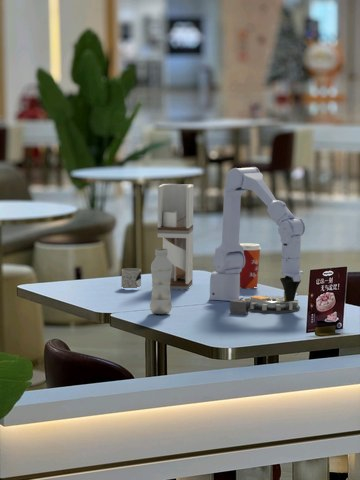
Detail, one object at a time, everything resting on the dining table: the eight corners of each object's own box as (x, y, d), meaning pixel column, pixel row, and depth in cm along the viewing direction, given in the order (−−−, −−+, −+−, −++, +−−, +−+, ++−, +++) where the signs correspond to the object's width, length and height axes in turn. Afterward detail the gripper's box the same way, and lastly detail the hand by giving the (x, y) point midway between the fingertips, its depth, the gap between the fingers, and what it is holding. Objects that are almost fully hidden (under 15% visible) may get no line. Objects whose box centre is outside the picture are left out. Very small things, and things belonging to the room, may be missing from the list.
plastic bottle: (149, 312, 379) (149, 247, 376) (171, 311, 379) (171, 247, 377) (150, 316, 372) (150, 250, 370) (172, 316, 373) (173, 250, 370)
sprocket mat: (232, 310, 382) (232, 308, 382) (248, 301, 399) (248, 298, 399) (292, 315, 376) (292, 312, 376) (305, 305, 393) (305, 302, 393)
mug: (140, 290, 416) (140, 271, 415) (120, 290, 416) (120, 271, 415) (141, 285, 426) (141, 266, 425) (122, 285, 426) (122, 266, 425)
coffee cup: (258, 290, 420) (259, 246, 418) (234, 289, 421) (235, 245, 419) (261, 286, 428) (262, 243, 426) (238, 285, 429) (239, 242, 427)
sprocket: (237, 308, 382) (238, 293, 381) (252, 299, 398) (252, 284, 397) (291, 312, 376) (291, 297, 376) (303, 302, 392) (304, 288, 392)
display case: (162, 283, 431) (163, 183, 426) (192, 284, 429) (193, 184, 425) (157, 288, 420) (158, 186, 415) (188, 290, 418) (189, 187, 414)
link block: (230, 314, 378) (230, 300, 377) (232, 312, 380) (233, 298, 380) (245, 315, 376) (246, 301, 375) (248, 313, 379) (248, 300, 378)
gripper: (310, 260, 374) (309, 304, 375) (296, 253, 388) (295, 296, 390) (287, 261, 372) (286, 305, 374) (275, 254, 386) (274, 296, 388)
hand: (289, 300), depth 382 cm, fingers closed
